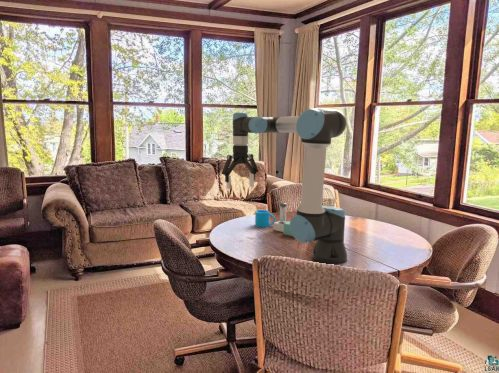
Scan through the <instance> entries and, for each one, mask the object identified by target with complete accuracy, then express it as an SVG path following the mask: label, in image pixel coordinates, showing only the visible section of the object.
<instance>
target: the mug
mask: <svg viewBox="0 0 499 373" xmlns="http://www.w3.org/2000/svg"><path fill="white" fill-rule="evenodd" d="M254 214H255V219H254V220H255V221H254V222H255V224H254V225H255V227H257V226H258V227H257V228H267V227H269V226H272V225H274V223H275V222H276V217H275V215H274V214H272V213H270V211H269V210H267V209H257V210H255V213H254ZM270 216H271V217H272V218H273V222H272V223H270Z"/></svg>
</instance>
